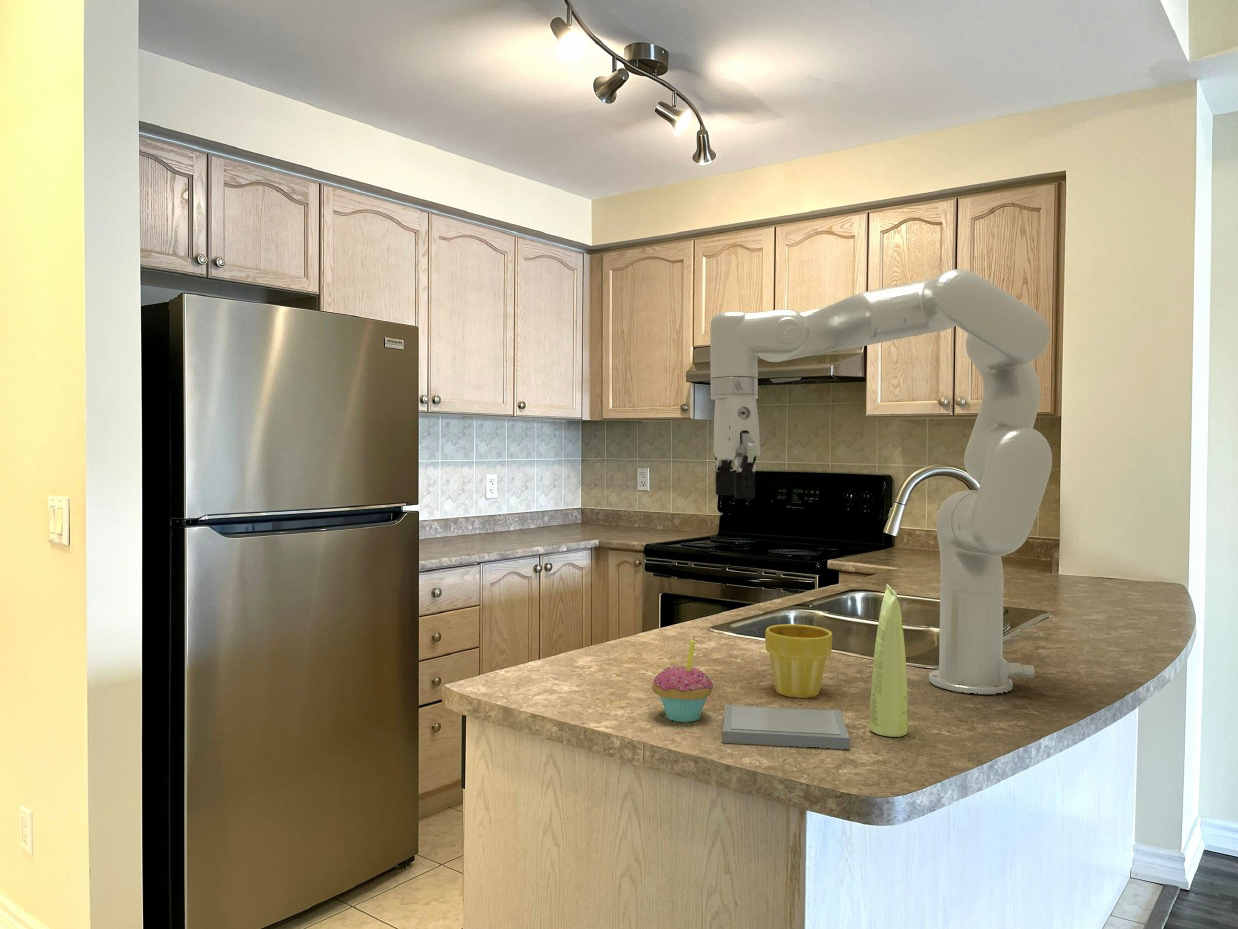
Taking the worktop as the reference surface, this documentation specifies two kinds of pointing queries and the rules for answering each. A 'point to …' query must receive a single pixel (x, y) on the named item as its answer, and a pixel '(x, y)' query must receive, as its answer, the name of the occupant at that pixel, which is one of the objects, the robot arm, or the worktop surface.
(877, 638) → the tube
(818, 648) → the plant pot
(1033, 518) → the robot arm
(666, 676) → the cupcake
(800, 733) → the grey flat block
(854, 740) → the worktop surface
